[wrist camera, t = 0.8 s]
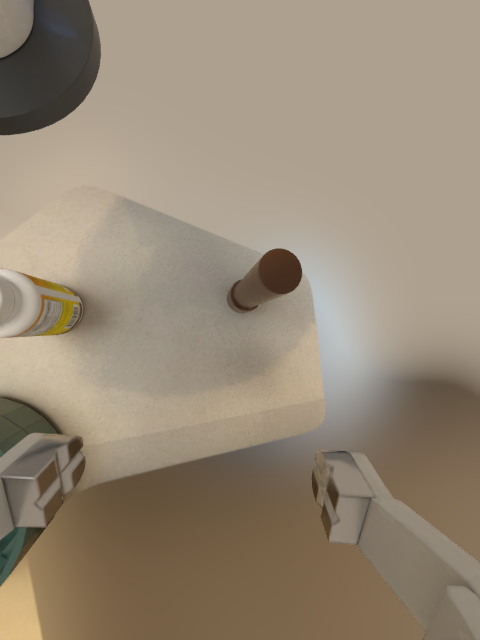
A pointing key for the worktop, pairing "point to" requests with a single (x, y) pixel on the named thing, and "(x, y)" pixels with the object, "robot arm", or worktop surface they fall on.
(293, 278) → the brown flanged cylinder
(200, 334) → the worktop surface
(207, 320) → the worktop surface
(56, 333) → the supplement bottle
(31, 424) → the bowl
